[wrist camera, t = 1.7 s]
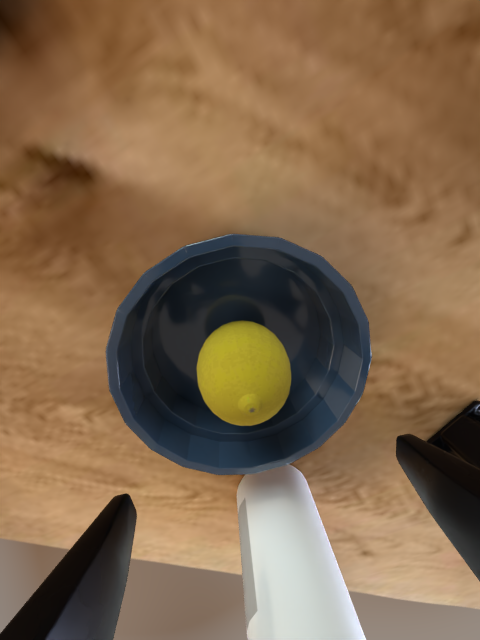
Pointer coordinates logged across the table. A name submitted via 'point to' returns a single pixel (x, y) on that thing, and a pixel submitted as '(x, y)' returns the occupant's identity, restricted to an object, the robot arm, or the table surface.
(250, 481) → the spray bottle
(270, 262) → the bowl
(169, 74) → the table surface
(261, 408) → the lemon
